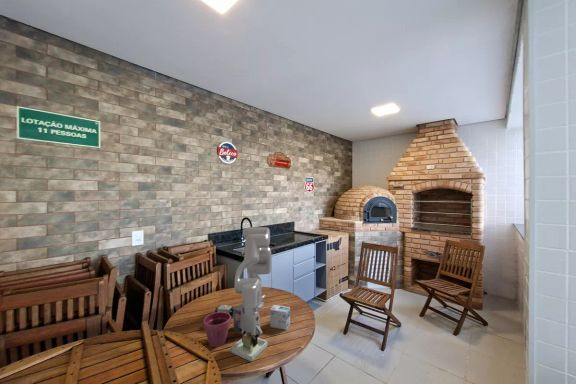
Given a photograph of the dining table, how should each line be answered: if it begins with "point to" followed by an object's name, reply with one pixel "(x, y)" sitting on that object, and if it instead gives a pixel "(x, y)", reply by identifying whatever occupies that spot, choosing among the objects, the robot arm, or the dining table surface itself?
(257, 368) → the dining table surface
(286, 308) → the light bulb box
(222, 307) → the pneumatic valve
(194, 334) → the dining table surface
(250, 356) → the tray
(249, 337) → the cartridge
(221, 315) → the plant pot
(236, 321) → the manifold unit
